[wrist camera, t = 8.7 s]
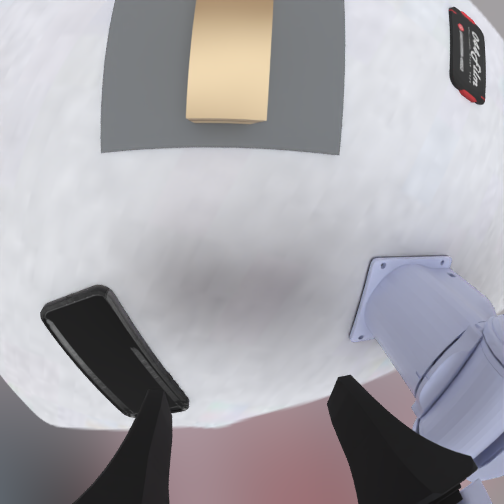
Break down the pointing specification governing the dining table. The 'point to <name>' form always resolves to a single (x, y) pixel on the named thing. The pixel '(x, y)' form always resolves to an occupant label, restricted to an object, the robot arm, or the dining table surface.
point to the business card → (467, 57)
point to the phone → (109, 349)
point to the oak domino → (230, 61)
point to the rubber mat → (177, 68)
